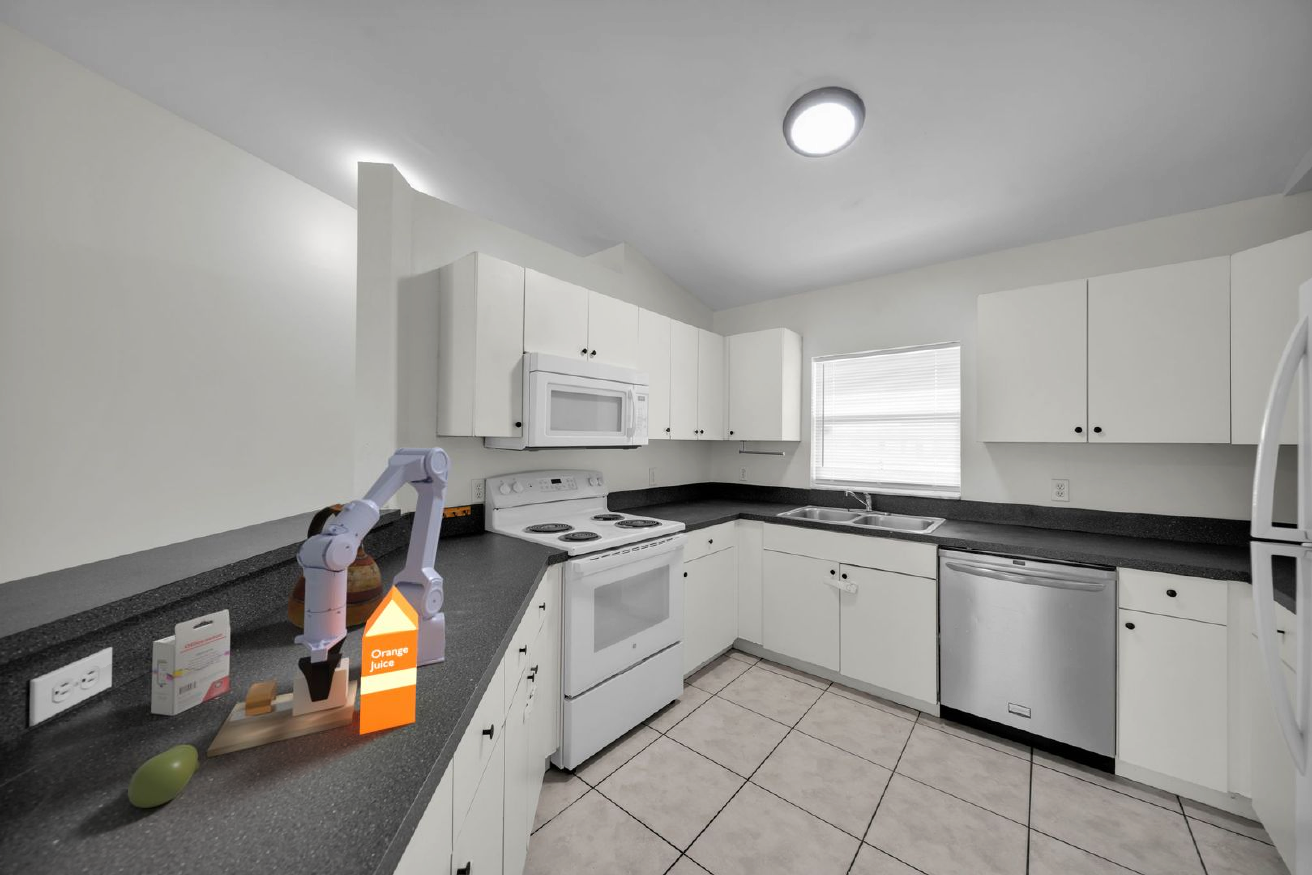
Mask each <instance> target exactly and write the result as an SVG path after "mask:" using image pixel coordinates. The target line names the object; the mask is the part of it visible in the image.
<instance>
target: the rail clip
mask: <svg viewBox="0 0 1312 875" xmlns="http://www.w3.org/2000/svg"><path fill="white" fill-rule="evenodd" d="M277 693H278V680H277V679H274V680H270V681H263V682H258V683H253V685H251V687H250V689H249V691H248V693H247V694H246V696H245V702H246V706H245V717H247V716H252V715H257V714H262V713H267V712H270V711H271V703H272V701H273V700H276V697H277V696H278V695H277Z"/></svg>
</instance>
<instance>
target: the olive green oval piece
mask: <svg viewBox="0 0 1312 875" xmlns="http://www.w3.org/2000/svg"><path fill="white" fill-rule="evenodd" d="M198 758H199V754H198V751H197V749H196V747H195V746H193V745H189V744H178V745H175V746H172V747H170V748H169V749H167V750H165V751H163V752H161V753H158V754H157V755H155V756H153V757H152V758H150V759H148V760H147V761H145V762H144V763H142V764H141V765H140V766H139V767H138V768H137V769H136V771H135V772H134V774H133V775H132V777H131V780H130V781H129V785H128V789H127V797H128V799H129V801H130V803H131V804H132V805H133V806H135V807H136V808H141V809H142V808H143V809H147V808H154V807H157V806H158V807H159V806H161V805H163V804H165V803H167V802H169V801H170V800H173V799H174V798H175V797H176V796H178V795H179V794H180V793H181V792H182V791H183V790H184V789H185V787H186V786H187V785H188V783H189V781H190V780H191V778H192V777H193V774H194V773H195V772H196V771H197V770H198V769H199V768H200V762H199V760H198Z"/></svg>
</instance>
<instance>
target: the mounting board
mask: <svg viewBox="0 0 1312 875" xmlns="http://www.w3.org/2000/svg"><path fill="white" fill-rule="evenodd" d="M348 689H349V695H348V701H347V703H346V705H343V706H339V707H334V708H329V709H325V710H320V711H315V712H311V713H306V714H302V715H297V716H293V715H288V716H284V717H279V718H274V719H269V720H265V721H260V722H255V723H251V724H246V725H241V726H237V727H232V728H229V721H230V719H231V718H232V716H233V714H234V713H235V712H237V711H242V710H245V706H246V701H243V702H239V703H236V704H235V706H234V707H233V708H232V710H231V712H230V713H229V715H228V716H227V718H226V720H225V721H224V723H223V725H222V726H221V728H220V729H219V730H218V732H217V735H216V736H215V737H214V739H213V741H212V742H211V744H210V745H209V746H208V748H207V753H206V754H207V755H206V756H207V757H206V758H210V757H212V758H213V757H216V756H220V755H224V754H229V753H233V752H238V751H242V750H246V749H249V748H254V747H258V746H262V745H268V744H272V743H274V742H275V743H276V742H278V741H279V742H281V741H283V740H285V741H286V740H288V739H293V738H297V737H302V736H306V735H310V734H314V733H319V732H324V731H327V730H332V729H335V728H341V727H344V726H348V725H352V722H353V715H354V709H355V703H356V696H357V692H358V691H357V690H358V679H357V680H352V681H348ZM291 700H293V692H290V693H284V694H280V695H277V697H276V700H273V701H272V703H271V705H272V704H277V703H282V702H287V701H291Z"/></svg>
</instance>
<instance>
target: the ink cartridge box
mask: <svg viewBox="0 0 1312 875" xmlns="http://www.w3.org/2000/svg"><path fill="white" fill-rule="evenodd" d="M229 612H230V611H229V609H223V610H220V611H217V612H214V613H209V614H205V615H203V616H200V617H199V616H198V617H196V618H193V619H191V620H186V621H184V622H183V621H182V622H180V623H179V622H178V623H177V624H176V625H174V635H171V636H167V637H164V638H161V639H158V640H157V639H156V640H155V641H153V642H152V665H151V666H152V669H151V670H152V671H151V672H152V673H151V703H150V704H151V708H150V709H151V710H150V713H151V714H157V715H164V716H171V717H172V716H177V715H179V714H181V713H182V712H185V711H187V710H189V709H191V708H194V707H196V706H198V705H200V704H203V703H204V702H207V701H209V700H212V699H213V698H215V697H218V696H220V695H222V694H224V693H226V692H228V691H229V689H230V688H229V685H230V660H231V659H230V657H231V655H230V654H231V625H230V613H229ZM202 622H205V623H207V622H212V623H209V624H205V625H203V626H199V627H197V628H194V627H195V626H198V625H200V624H201V623H202Z"/></svg>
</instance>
